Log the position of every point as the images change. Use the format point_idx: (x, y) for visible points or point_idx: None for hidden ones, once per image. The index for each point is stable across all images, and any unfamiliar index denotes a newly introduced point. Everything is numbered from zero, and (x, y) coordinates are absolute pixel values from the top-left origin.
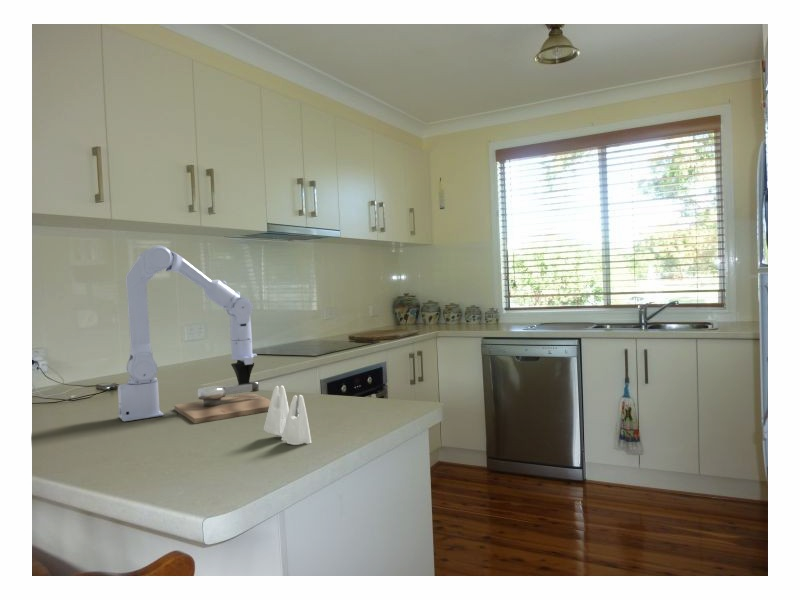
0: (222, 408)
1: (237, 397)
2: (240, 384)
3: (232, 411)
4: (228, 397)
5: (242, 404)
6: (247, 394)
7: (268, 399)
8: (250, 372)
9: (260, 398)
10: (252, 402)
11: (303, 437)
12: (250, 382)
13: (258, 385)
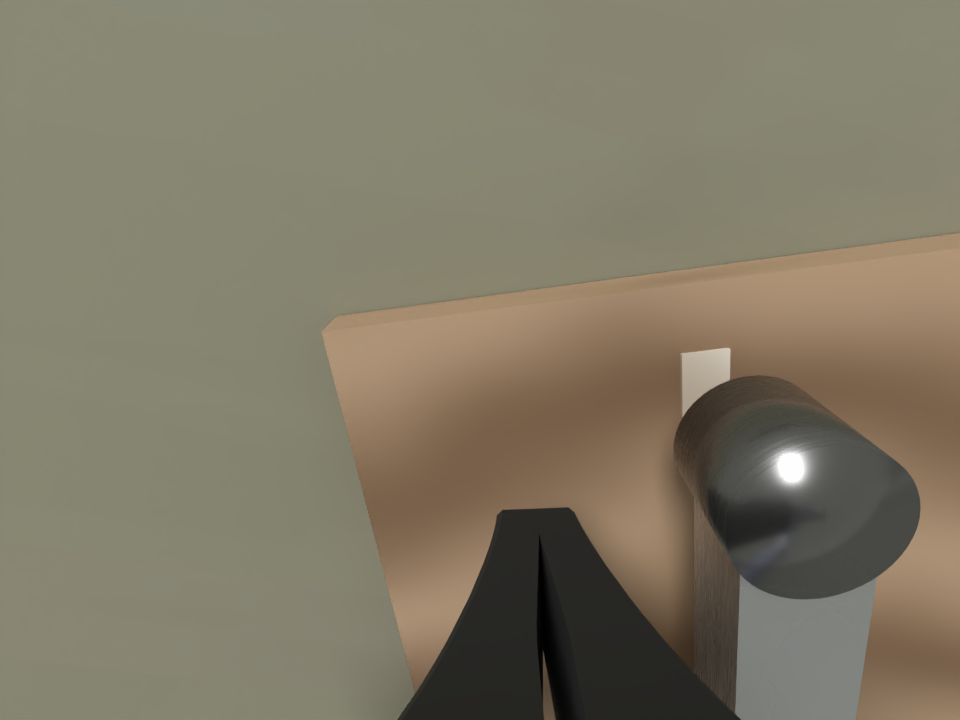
0: (957, 715)
1: (485, 533)
2: (760, 695)
3: None
4: (415, 600)
5: (949, 561)
6: (358, 410)
7: (944, 259)
8: (726, 714)
9: (775, 333)
10: (942, 462)
11: None
12: (785, 572)
13: (846, 423)
